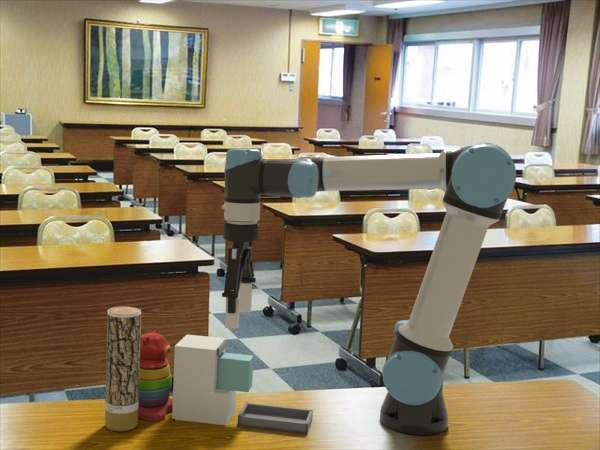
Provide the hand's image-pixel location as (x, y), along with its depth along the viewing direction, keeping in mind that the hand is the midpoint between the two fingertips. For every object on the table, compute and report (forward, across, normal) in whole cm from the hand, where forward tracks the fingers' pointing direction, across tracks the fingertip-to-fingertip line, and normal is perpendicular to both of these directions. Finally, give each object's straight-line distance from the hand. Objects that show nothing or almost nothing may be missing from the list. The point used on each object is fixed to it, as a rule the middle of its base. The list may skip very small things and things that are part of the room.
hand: (238, 319), depth 166 cm
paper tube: (+22, +10, -22) cm, 33 cm away
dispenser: (+22, -1, -7) cm, 24 cm away
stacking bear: (+22, 0, -19) cm, 30 cm away
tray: (+23, -1, +9) cm, 24 cm away
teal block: (+15, -1, -2) cm, 16 cm away
